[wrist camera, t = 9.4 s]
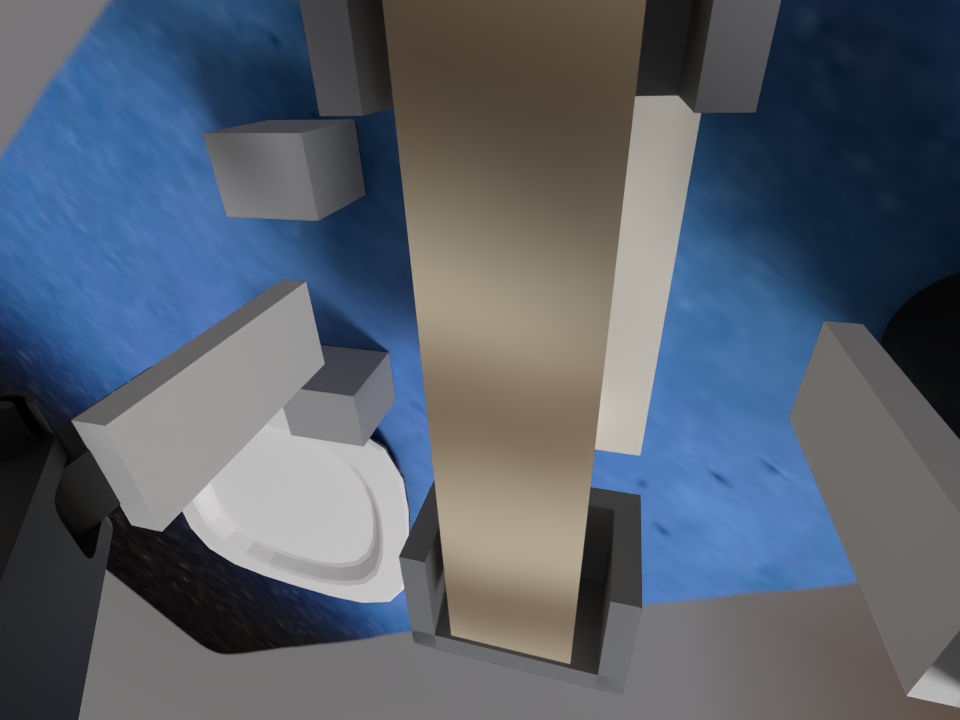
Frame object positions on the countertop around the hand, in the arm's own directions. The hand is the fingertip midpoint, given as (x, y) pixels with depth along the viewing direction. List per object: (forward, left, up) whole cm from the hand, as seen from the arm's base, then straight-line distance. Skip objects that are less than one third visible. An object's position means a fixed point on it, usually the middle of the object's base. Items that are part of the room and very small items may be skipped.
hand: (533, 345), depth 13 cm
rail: (0, 0, 0) cm, 0 cm away
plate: (-18, -19, -10) cm, 28 cm away
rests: (-11, -2, -9) cm, 14 cm away
